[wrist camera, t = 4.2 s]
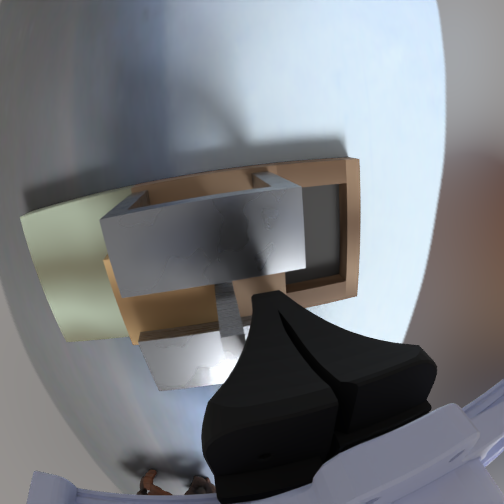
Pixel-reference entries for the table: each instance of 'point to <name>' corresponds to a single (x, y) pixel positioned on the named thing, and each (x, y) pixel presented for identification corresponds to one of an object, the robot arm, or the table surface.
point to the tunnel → (201, 262)
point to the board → (162, 191)
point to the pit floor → (319, 234)
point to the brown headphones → (146, 484)
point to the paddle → (229, 323)
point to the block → (164, 307)
